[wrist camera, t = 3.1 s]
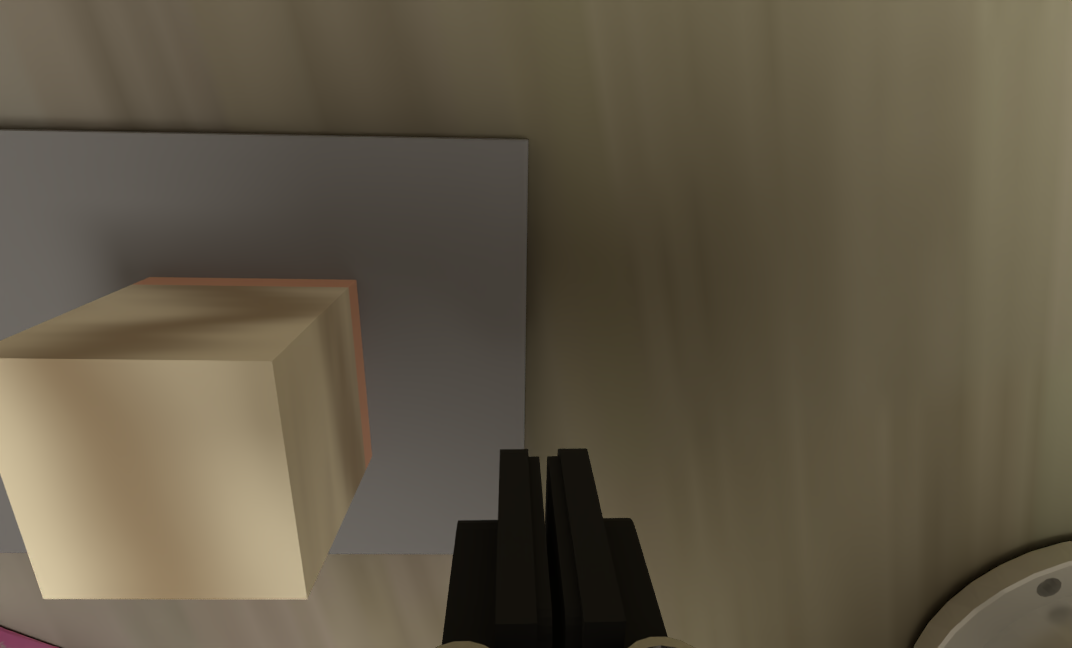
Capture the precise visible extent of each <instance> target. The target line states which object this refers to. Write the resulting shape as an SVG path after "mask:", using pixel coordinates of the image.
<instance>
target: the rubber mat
mask: <svg viewBox="0 0 1072 648" xmlns="http://www.w3.org/2000/svg"><path fill="white" fill-rule="evenodd" d="M527 201H528V139H498V138H445V137H392V136H340V135H287V134H234V133H181V132H128V131H75V130H22V129H0V341H1V340H3V339H6V338H8V337H10V336H13V335H15V334H17V333H20V332H22V331H24V330H27V329H29V328H31V327H34V326H36V325H38V324H41V323H43V322H45V321H48V320H50V319H52V318H55V317H57V316H59V315H62V314H64V313H66V312H69V311H71V310H73V309H76V308H78V307H80V306H83V305H85V304H87V303H90V302H92V301H94V300H97V299H99V298H101V297H104V296H106V295H109V294H111V293H113V292H116V291H118V290H120V289H123V288H125V287H127V286H130V285H132V284H134V283H137V282H139V281H141V280H144V279H146V278H148V277H187V278H260V279H334V280H356V281H357V292H358V303H359V315H360V326H361V337H362V348H363V359H364V371H365V382H366V393H367V404H368V415H369V426H370V438H371V449H372V457H371V460H370V462H369V464H368V466H367V468H366V471H365V473H364V475H363V477H362V480H361V482H360V484H359V486H358V488H357V491H356V493H355V495H354V497H353V499H352V502H351V504H350V506H349V508H348V510H347V513H346V515H345V517H344V519H343V521H342V524H341V526H340V528H339V530H338V533H337V535H336V537H335V539H334V541H333V544H332V546H331V548H330V550H329V552H328V554H453V552H454V544H455V536H456V528H457V523H458V520H498V498H499V462H500V449H524V424H525V350H526V275H527ZM0 553H27V550H26V547H25V544H24V541H23V538H22V535H21V533H20V530H19V527H18V524H17V521H16V518H15V515H14V512H13V509H12V506H11V504H10V501H9V498H8V495H7V492H6V489H5V486H4V483H3V480H2V478H1V475H0Z"/></svg>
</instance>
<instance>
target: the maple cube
mask: <svg viewBox="0 0 1072 648" xmlns="http://www.w3.org/2000/svg"><path fill="white" fill-rule="evenodd" d="M371 457H372V449H371V438H370V426H369V415H368V404H367V393H366V382H365V371H364V359H363V348H362V337H361V326H360V315H359V303H358V292H357V281H356V280H334V279H260V278H187V277H148V278H146V279H144V280H141V281H139V282H137V283H134V284H132V285H130V286H127V287H125V288H123V289H120V290H118V291H116V292H113V293H111V294H109V295H106V296H104V297H101V298H99V299H97V300H94V301H92V302H90V303H87V304H85V305H83V306H80V307H78V308H76V309H73V310H71V311H69V312H66V313H64V314H62V315H59V316H57V317H55V318H52V319H50V320H48V321H45V322H43V323H41V324H38V325H36V326H34V327H31V328H29V329H27V330H24V331H22V332H20V333H17V334H15V335H13V336H10V337H8V338H6V339H3V340H1V341H0V475H1V478H2V480H3V483H4V486H5V489H6V492H7V495H8V498H9V501H10V504H11V506H12V509H13V512H14V515H15V518H16V521H17V524H18V527H19V530H20V533H21V535H22V538H23V541H24V544H25V547H26V550H27V553H28V556H29V559H30V562H31V564H32V567H33V570H34V573H35V576H36V579H37V582H38V585H39V588H40V590H41V593H42V596H43V599H308V597H309V594H310V592H311V590H312V588H313V586H314V583H315V581H316V579H317V577H318V574H319V572H320V570H321V568H322V566H323V563H324V561H325V559H326V557H327V555H328V552H329V550H330V548H331V546H332V544H333V541H334V539H335V537H336V535H337V533H338V530H339V528H340V526H341V524H342V521H343V519H344V517H345V515H346V513H347V510H348V508H349V506H350V504H351V502H352V499H353V497H354V495H355V493H356V491H357V488H358V486H359V484H360V482H361V480H362V477H363V475H364V473H365V471H366V468H367V466H368V464H369V462H370V460H371Z"/></svg>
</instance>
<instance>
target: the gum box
mask: <svg viewBox="0 0 1072 648" xmlns="http://www.w3.org/2000/svg"><path fill="white" fill-rule="evenodd" d="M0 648H59V647H56V646H52V645H49V644H46V643H44V642H41V641H38V640H35V639H32V638H30V637H27V636H24V635H21V634H18V633H16V632H13V631H10V630H7V629H5V628H2V627H0Z"/></svg>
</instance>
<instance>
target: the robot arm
mask: <svg viewBox="0 0 1072 648" xmlns="http://www.w3.org/2000/svg"><path fill="white" fill-rule="evenodd" d="M436 648H695V647H693V646H691V645H689V644H687V643H685V642H683V641H681V640H677V639H673V638H669V637H667V633H666V630H665V627H664V623H663V620H662V616H661V613H660V610H659V606H658V603H657V600H656V596H655V593H654V590H653V586H652V583H651V579H650V576H649V573H648V569H647V566H646V563H645V559H644V556H643V553H642V549H641V546H640V543H639V539H638V536H637V532H636V529H635V526H634V523H633V521H632V520H631V519H630V518H603V517H602V512H601V508H600V504H599V499H598V495H597V490H596V486H595V481H594V477H593V473H592V468H591V464H590V459H589V455H588V451H587V449H558V456H551V457H547V481H546V514H545V521H544V509H543V498H542V486H541V474H540V462H539V457H528V449H500V462H499V498H498V520H458V523H457V528H456V536H455V544H454V552H453V560H452V568H451V576H450V584H449V592H448V600H447V608H446V616H445V624H444V632H443V640H442V645H440V646H437V647H436ZM914 648H1072V541H1068V542H1062V543H1058V544H1055V545H1051V546H1048V547H1045V548H1041V549H1038V550H1034V551H1031V552H1028V553H1026V554H1024V555H1021V556H1019V557H1017V558H1015V559H1012V560H1010V561H1008V562H1005V563H1003V564H1001V565H999V566H997V567H996V568H994V569H992V570H991V571H989V572H987V573H986V574H984V575H982V576H981V577H979V578H977V579H976V580H974V581H972V582H971V583H970V584H969V585H967V586H966V587H965V588H964V589H962V590H961V591H960V592H959V593H957V594H956V595H955V596H954V597H953V598H951V599H950V600H949V601H948V602H947V603H946V604H945V605H944V606H943V607H942V608H941V609H940V610H939V612H938V613H937V614H936V615H935V616H934V617H933V618H932V619H931V620H930V621H929V623H928V624H927V626H926V627H925V629H924V631H923V632H922V634H921V635H920V637H919V638H918V640H917V642H916V643H915V645H914Z"/></svg>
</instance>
